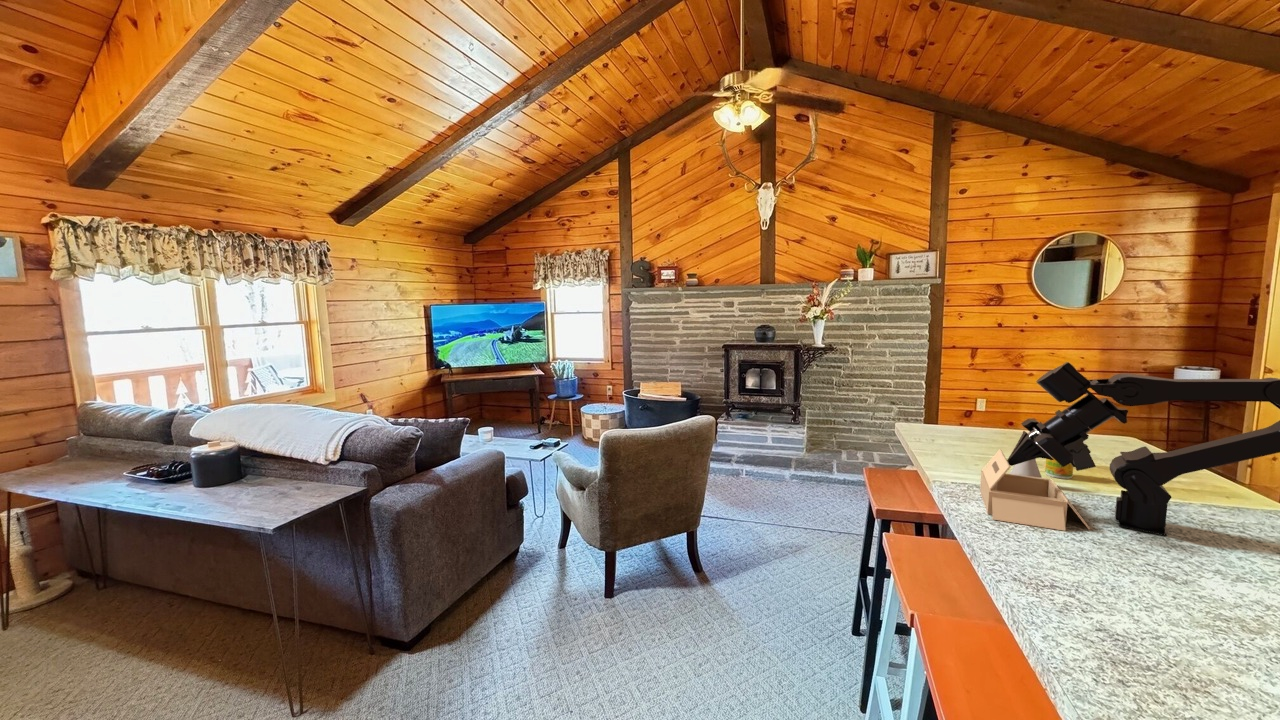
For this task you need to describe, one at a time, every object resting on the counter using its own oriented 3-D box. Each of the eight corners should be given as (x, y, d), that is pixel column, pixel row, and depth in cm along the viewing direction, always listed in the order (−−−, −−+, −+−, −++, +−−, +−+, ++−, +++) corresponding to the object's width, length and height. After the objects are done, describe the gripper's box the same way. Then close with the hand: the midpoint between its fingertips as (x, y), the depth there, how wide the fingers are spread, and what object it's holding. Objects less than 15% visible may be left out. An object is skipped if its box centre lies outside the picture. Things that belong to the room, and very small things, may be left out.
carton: (1067, 498, 112) (1068, 476, 111) (1095, 536, 94) (1097, 510, 93) (978, 486, 120) (979, 466, 119) (989, 519, 102) (990, 495, 101)
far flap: (983, 470, 116) (1001, 449, 114) (991, 489, 104) (1010, 467, 102) (982, 469, 116) (999, 448, 114) (989, 488, 104) (1008, 466, 102)
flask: (1052, 489, 118) (1055, 448, 116) (1021, 489, 118) (1024, 449, 117) (1028, 478, 125) (1031, 440, 124) (999, 478, 125) (1002, 440, 124)
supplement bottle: (1040, 474, 127) (1042, 437, 126) (1051, 470, 130) (1054, 434, 129) (1065, 480, 123) (1068, 442, 122) (1076, 477, 125) (1079, 439, 124)
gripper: (1130, 463, 91) (1049, 509, 98) (1098, 438, 107) (1031, 479, 114) (1078, 417, 94) (1003, 465, 101) (1054, 400, 110) (991, 442, 117)
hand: (1008, 463), depth 108 cm, fingers closed
